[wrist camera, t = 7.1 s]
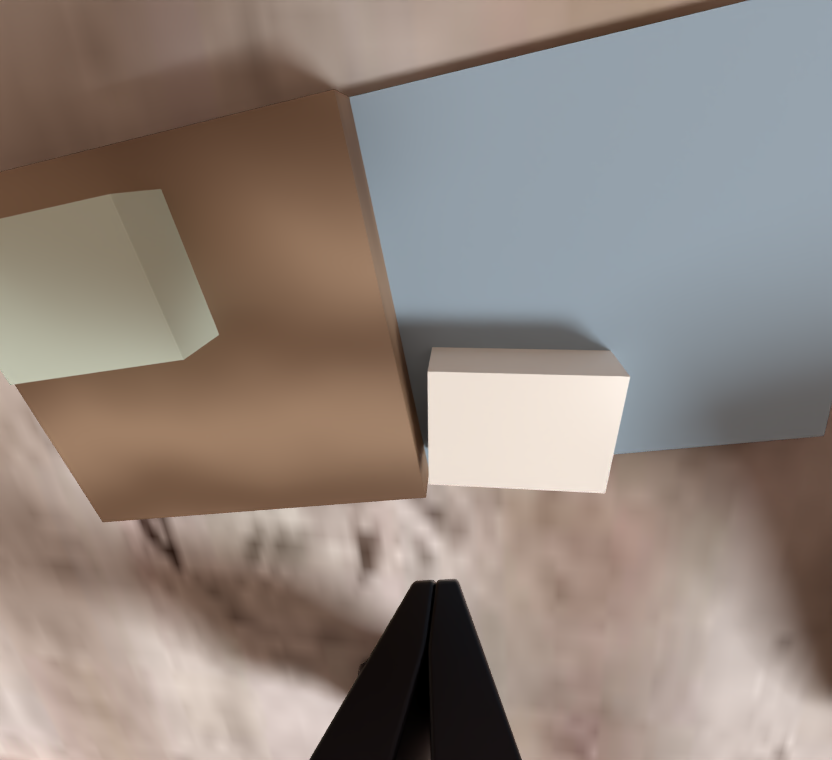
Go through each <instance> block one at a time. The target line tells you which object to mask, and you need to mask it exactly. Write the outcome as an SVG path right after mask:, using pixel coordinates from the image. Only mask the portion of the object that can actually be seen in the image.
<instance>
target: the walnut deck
mask: <svg viewBox="0 0 832 760" xmlns="http://www.w3.org/2000/svg"><path fill="white" fill-rule="evenodd" d="M155 189H161V190H162V193H163V195H164V198H165V200H166V203H167V205H168V208H169V210H170V213H171V215H172V218H173V220H174V223H175V225H176V228H177V230H178V233H179V235H180V238H181V240H182V243H183V245H184V248H185V250H186V253H187V255H188V258H189V260H190V263H191V265H192V268H193V270H194V273H195V275H196V278H197V280H198V283H199V285H200V288H201V290H202V293H203V295H204V298H205V300H206V303H207V305H208V308H209V310H210V313H211V315H212V318H213V320H214V323H215V325H216V328H217V330H218V333H219V335H218V336H217V337H215V338H214V339H212V340H211V341H210V342H208V343H207V344H205V345H204V346H203V347H201V348H200V349H198V350H197V351H196V352H194V353H193V354H191V355H190V356H188V357H187V358H186V359H184V360H178V361H172V362H165V363H158V364H151V365H144V366H137V367H130V368H123V369H116V370H110V371H103V372H96V373H89V374H82V375H75V376H68V377H61V378H54V379H48V380H41V381H34V382H27V383H20V384H15V386H16V387H17V389H18V390H19V392H20V394H21V395H22V397H23V398H24V400H25V401H26V403H27V405H28V406H29V408H30V409H31V411H32V412H33V414H34V415H35V417H36V419H37V420H38V422H39V423H40V425H41V426H42V428H43V430H44V431H45V433H46V434H47V436H48V437H49V439H50V440H51V442H52V444H53V445H54V447H55V448H56V450H57V451H58V453H59V455H60V456H61V458H62V459H63V461H64V462H65V464H66V465H67V467H68V469H69V470H70V472H71V473H72V475H73V476H74V478H75V479H76V481H77V483H78V484H79V486H80V487H81V489H82V490H83V492H84V494H85V495H86V497H87V498H88V500H89V501H90V503H91V504H92V506H93V508H94V509H95V511H96V512H97V514H98V515H99V517H100V519H101V520H102V522H112V521H125V520H138V519H151V518H164V517H177V516H190V515H203V514H216V513H229V512H242V511H255V510H268V509H282V508H295V507H308V506H321V505H334V504H347V503H360V502H373V501H386V500H399V499H412V498H425V497H426V493H427V484H428V476H429V467H428V463H427V458H426V453H425V449H424V444H423V439H422V435H421V430H420V425H419V421H418V416H417V411H416V407H415V402H414V397H413V393H412V388H411V383H410V378H409V374H408V369H407V364H406V360H405V355H404V350H403V346H402V341H401V336H400V332H399V327H398V322H397V318H396V313H395V308H394V304H393V299H392V294H391V290H390V285H389V280H388V276H387V271H386V266H385V262H384V257H383V252H382V248H381V243H380V238H379V234H378V229H377V224H376V220H375V215H374V210H373V206H372V201H371V196H370V192H369V187H368V182H367V178H366V173H365V168H364V164H363V159H362V154H361V150H360V145H359V140H358V136H357V131H356V126H355V122H354V117H353V112H352V107H351V103H350V98H349V97H348V96H346V95H344V94H342V93H340V92H338V91H336V90H335V89H333V90H329V91H325V92H321V93H317V94H313V95H309V96H305V97H301V98H297V99H293V100H289V101H284V102H280V103H276V104H272V105H268V106H264V107H260V108H256V109H252V110H248V111H244V112H240V113H236V114H232V115H228V116H224V117H220V118H216V119H212V120H208V121H204V122H200V123H196V124H192V125H187V126H183V127H179V128H175V129H171V130H167V131H163V132H159V133H155V134H151V135H147V136H143V137H139V138H135V139H131V140H127V141H123V142H119V143H115V144H111V145H107V146H103V147H99V148H95V149H90V150H86V151H82V152H78V153H74V154H70V155H66V156H62V157H58V158H54V159H50V160H46V161H42V162H38V163H34V164H30V165H26V166H22V167H18V168H14V169H10V170H6V171H2V172H0V219H1V218H5V217H10V216H14V215H19V214H23V213H27V212H32V211H36V210H41V209H45V208H50V207H54V206H59V205H63V204H67V203H72V202H76V201H81V200H85V199H90V198H94V197H98V196H103V195H107V194H114V193H124V192H135V191H145V190H155Z"/></svg>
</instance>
